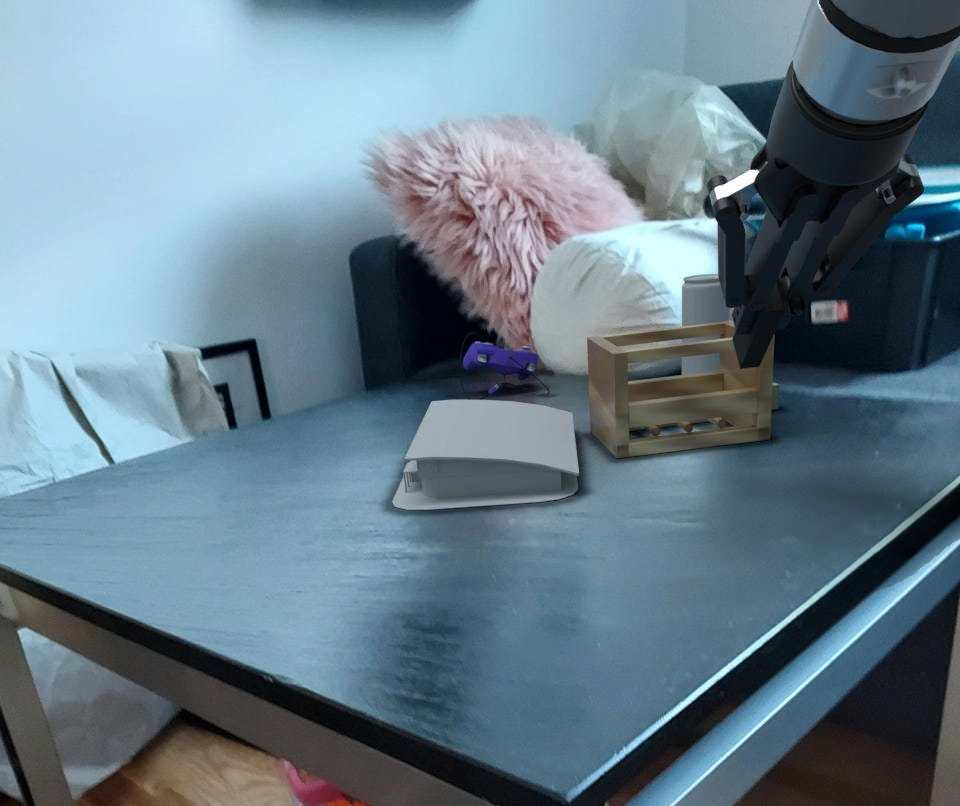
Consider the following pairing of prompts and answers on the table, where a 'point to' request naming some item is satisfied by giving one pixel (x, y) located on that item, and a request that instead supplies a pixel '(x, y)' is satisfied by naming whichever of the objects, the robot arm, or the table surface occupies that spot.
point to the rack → (676, 392)
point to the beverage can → (702, 317)
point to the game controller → (500, 362)
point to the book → (489, 456)
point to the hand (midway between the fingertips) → (745, 352)
